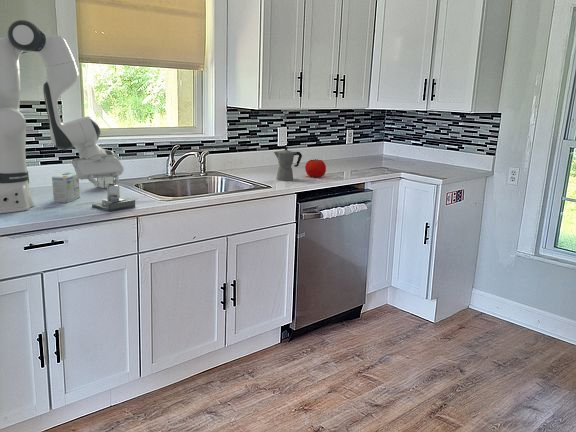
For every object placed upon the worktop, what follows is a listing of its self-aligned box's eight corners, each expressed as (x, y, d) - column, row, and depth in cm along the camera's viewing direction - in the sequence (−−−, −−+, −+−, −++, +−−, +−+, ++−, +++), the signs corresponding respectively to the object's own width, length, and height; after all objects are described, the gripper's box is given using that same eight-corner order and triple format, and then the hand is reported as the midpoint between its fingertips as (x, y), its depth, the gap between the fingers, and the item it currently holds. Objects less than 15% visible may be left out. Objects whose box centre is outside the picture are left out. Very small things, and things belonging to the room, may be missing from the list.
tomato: (324, 175, 309) (325, 157, 307) (326, 179, 298) (327, 160, 296) (304, 174, 309) (304, 157, 306) (305, 178, 298) (306, 160, 295)
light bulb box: (65, 196, 232) (64, 172, 230) (80, 197, 232) (79, 173, 229) (52, 201, 222) (51, 176, 219) (68, 202, 221) (66, 177, 219)
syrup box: (107, 185, 258) (106, 155, 255) (114, 187, 255) (113, 157, 251) (97, 186, 254) (95, 156, 250) (104, 188, 250) (102, 158, 247)
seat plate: (110, 211, 210) (110, 204, 209) (92, 206, 217) (91, 199, 216) (135, 206, 219) (135, 199, 219) (117, 202, 226) (116, 195, 225)
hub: (112, 207, 213) (111, 186, 211) (102, 204, 217) (101, 184, 215) (125, 204, 218) (124, 184, 216) (115, 201, 222) (114, 182, 220)
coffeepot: (272, 180, 288) (273, 147, 284) (273, 177, 297) (274, 145, 293) (300, 181, 287) (302, 148, 283) (301, 178, 296) (302, 146, 292)
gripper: (73, 154, 210) (88, 182, 206) (116, 151, 226) (131, 177, 223) (66, 164, 213) (81, 191, 210) (110, 160, 229) (125, 186, 226)
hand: (107, 184), depth 216 cm, fingers open, 8 cm apart
